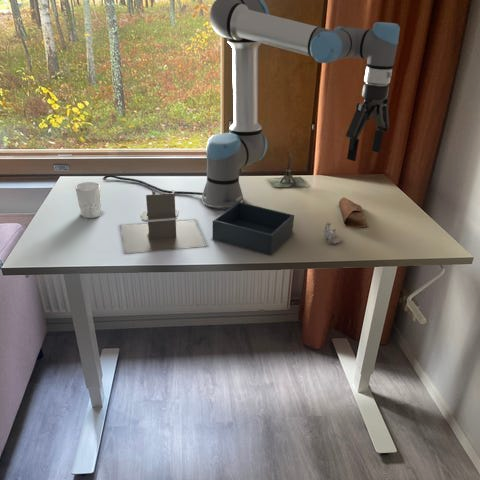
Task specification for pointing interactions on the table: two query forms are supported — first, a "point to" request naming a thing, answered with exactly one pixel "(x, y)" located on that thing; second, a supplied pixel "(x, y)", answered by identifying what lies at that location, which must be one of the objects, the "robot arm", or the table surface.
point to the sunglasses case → (352, 213)
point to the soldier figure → (330, 234)
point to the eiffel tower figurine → (288, 178)
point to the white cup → (89, 199)
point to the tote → (253, 227)
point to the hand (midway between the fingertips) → (363, 155)
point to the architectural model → (161, 228)
